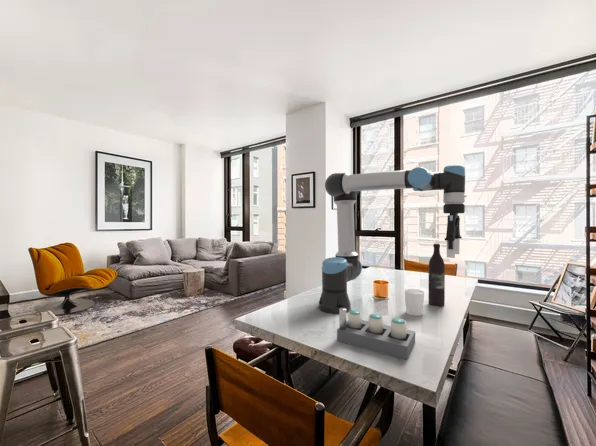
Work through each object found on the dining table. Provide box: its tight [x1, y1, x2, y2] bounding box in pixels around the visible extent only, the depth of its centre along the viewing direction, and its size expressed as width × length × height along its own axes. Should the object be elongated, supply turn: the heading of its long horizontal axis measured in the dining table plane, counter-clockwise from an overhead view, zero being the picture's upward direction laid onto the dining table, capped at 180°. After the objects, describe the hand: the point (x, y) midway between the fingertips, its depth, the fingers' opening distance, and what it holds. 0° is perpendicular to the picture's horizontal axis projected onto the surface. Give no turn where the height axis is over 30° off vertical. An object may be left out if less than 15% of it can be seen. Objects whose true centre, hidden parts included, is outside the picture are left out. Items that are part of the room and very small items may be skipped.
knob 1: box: [347, 309, 363, 328], centre depth 95 cm, size 5×5×5 cm
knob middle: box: [368, 313, 384, 333], centre depth 91 cm, size 5×5×5 cm
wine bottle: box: [428, 243, 446, 308], centre depth 131 cm, size 7×7×30 cm
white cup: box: [404, 288, 425, 317], centre depth 119 cm, size 8×8×10 cm
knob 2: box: [390, 317, 407, 339], centre depth 87 cm, size 5×5×5 cm
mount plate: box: [336, 319, 416, 361], centre depth 91 cm, size 23×13×4 cm, turn 57°
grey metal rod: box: [338, 308, 347, 330], centre depth 92 cm, size 2×2×7 cm
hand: (453, 255), depth 109 cm, fingers open, 13 cm apart
